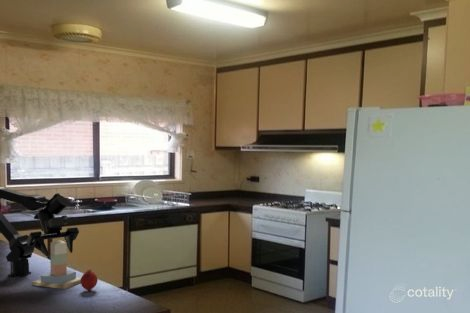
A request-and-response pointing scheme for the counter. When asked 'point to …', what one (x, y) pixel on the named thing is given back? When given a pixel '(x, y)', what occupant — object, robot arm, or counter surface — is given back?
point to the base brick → (58, 277)
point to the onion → (89, 280)
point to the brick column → (58, 257)
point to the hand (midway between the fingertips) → (60, 254)
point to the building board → (62, 286)
